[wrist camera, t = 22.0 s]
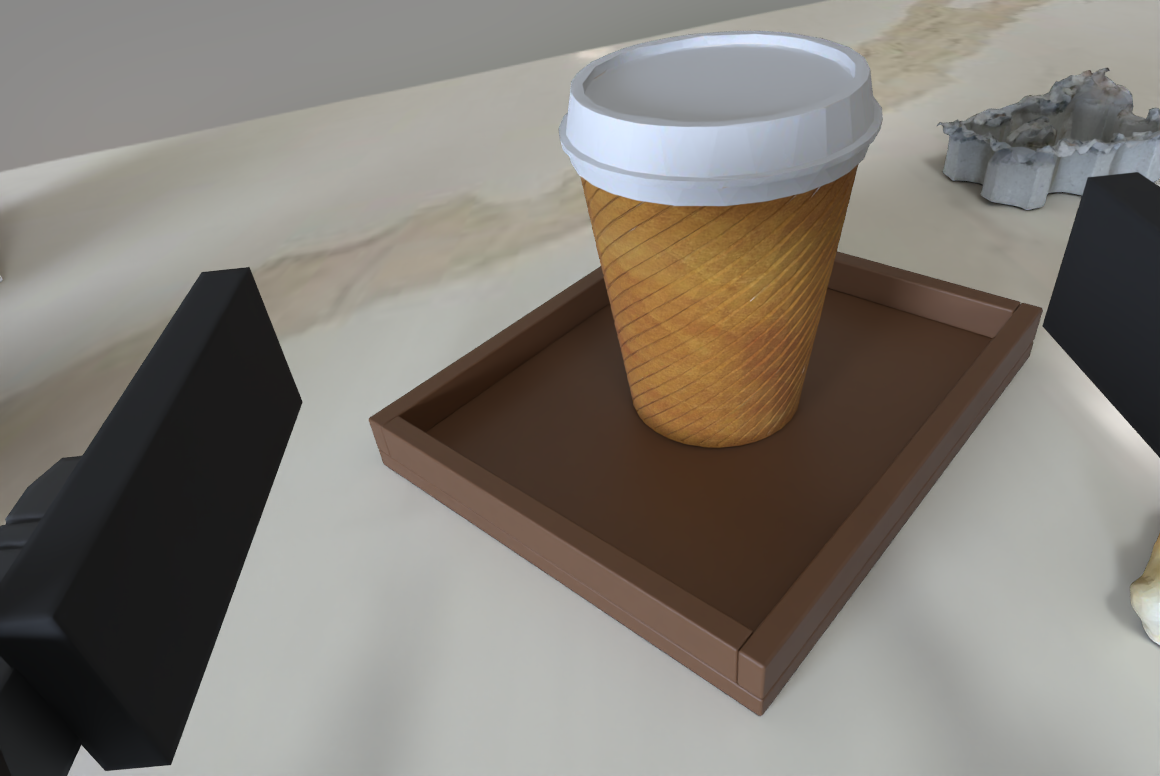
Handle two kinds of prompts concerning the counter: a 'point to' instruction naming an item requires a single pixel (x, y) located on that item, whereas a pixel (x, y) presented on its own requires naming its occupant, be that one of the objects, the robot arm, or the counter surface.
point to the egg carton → (1054, 142)
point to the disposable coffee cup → (719, 215)
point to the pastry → (1149, 595)
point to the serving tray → (713, 464)
